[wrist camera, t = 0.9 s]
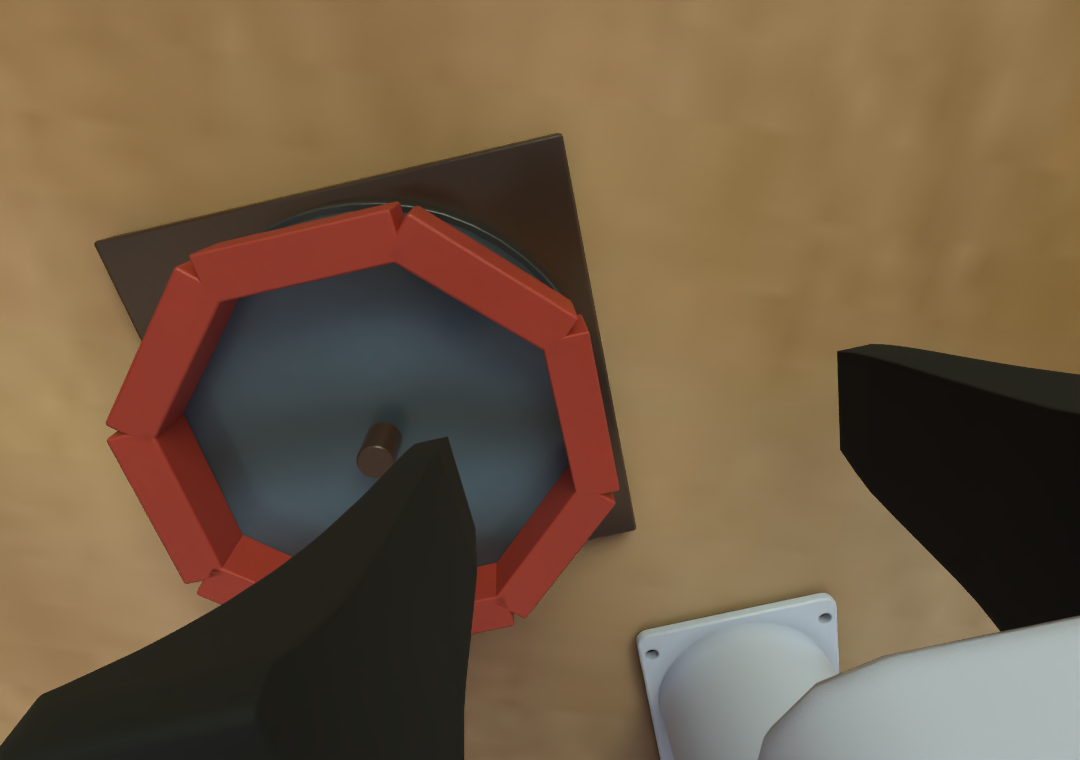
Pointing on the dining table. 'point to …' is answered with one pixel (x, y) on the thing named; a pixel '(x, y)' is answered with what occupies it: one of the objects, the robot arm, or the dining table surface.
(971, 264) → the dining table surface
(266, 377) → the stand
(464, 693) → the robot arm
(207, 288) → the brick ring
